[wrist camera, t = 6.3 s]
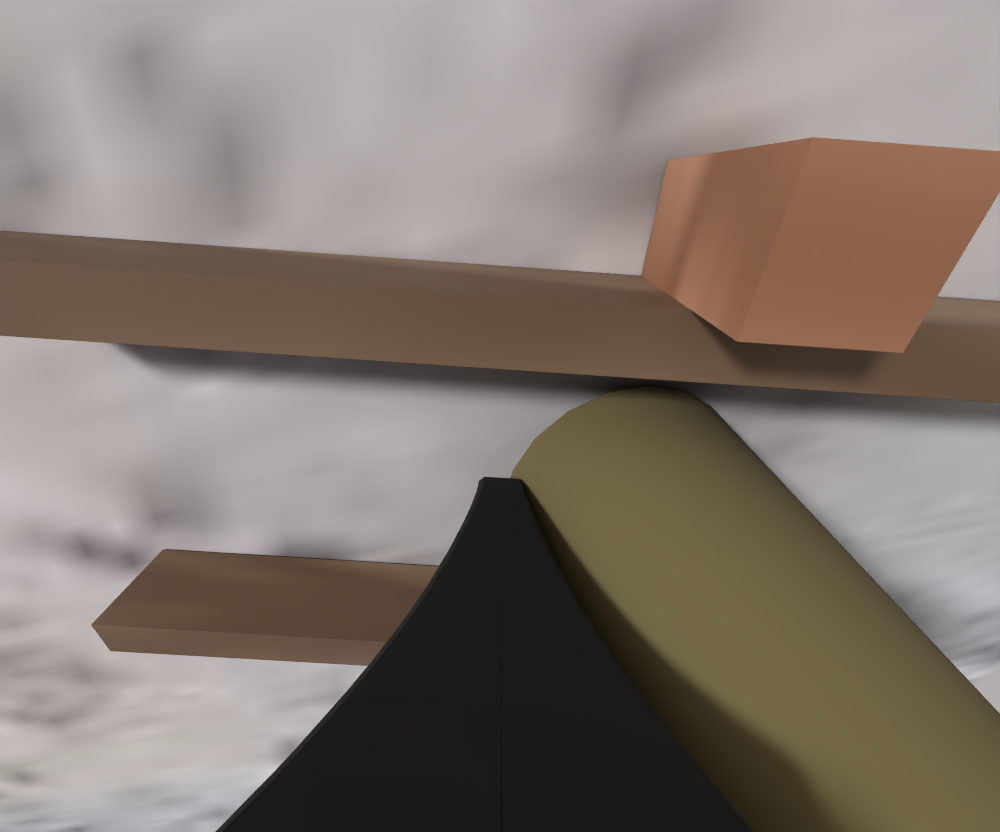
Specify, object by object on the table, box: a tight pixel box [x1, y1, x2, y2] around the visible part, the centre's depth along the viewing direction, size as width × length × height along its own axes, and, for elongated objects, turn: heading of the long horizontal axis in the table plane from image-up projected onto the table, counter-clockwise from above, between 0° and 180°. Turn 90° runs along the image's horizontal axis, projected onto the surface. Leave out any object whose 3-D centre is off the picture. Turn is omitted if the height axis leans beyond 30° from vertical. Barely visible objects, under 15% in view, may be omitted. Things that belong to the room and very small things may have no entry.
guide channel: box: [0, 137, 1000, 666], centre depth 9 cm, size 14×21×4 cm
